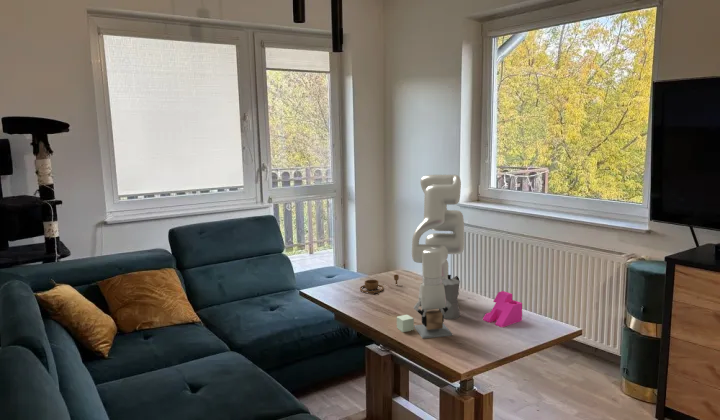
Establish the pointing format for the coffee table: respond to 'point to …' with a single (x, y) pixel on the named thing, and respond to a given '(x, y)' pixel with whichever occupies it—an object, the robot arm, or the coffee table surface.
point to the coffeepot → (452, 296)
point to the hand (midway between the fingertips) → (432, 324)
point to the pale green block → (405, 323)
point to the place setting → (375, 285)
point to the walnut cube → (434, 319)
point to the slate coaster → (432, 331)
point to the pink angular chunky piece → (504, 310)
